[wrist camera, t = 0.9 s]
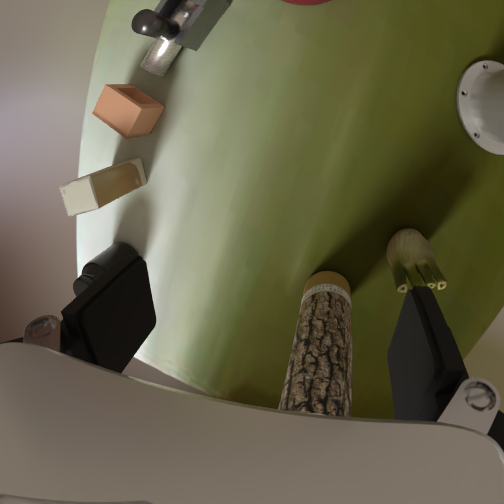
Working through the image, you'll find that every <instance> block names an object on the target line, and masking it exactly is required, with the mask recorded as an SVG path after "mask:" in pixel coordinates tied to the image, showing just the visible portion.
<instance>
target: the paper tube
mask: <svg viewBox="0 0 504 504" xmlns="http://www.w3.org/2000/svg"><path fill="white" fill-rule="evenodd" d="M351 403H352V314H351V293H350V286H349V283H348V281H347V280H346V279H345V278H344V277H343V276H342V275H340V274H338V273H336V272H332V271H322V272H318V273H316V274H314V275H313V276H311V277H310V278H309V279H308V281H307V282H306V285H305V288H304V293H303V298H302V303H301V308H300V313H299V318H298V323H297V328H296V333H295V338H294V343H293V347H292V352H291V357H290V361H289V366H288V370H287V375H286V379H285V383H284V388H283V392H282V396H281V401H280V405H279V409H278V410H284V411H292V412H300V413H308V414H318V415H328V416H340V417H351Z"/></svg>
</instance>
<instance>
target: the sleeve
mask: <svg viewBox="0 0 504 504" xmlns="http://www.w3.org/2000/svg"><path fill="white" fill-rule="evenodd" d="M181 1H182V0H161V1H160V3H159V4H158V6H157V7H156V9H155V10H154V12H157V13H159V14H161V15H164V16H166V17H169V18H170V17H171V15H172V14H173V12H174V11H175V9H176V8H177V7H178V5H179V4H180V2H181ZM188 1H190V2H192V3H195V4H197V5H199V6H198V8H197V9H196V10H195V12H194V13H193V14H192V16H191V17H190V19H189V20H188V21H187V23H186V24H185V26H184V27H183V29H182V30H181V32H180V33H179V35H178V36H177V38H176V39H175V41H174V43H176V44H177V45H180V46H183V47H186V48H189V49H192V50H195V51H197V50H198V48H199V47H200V45H201V44H202V42H203V41H204V39H205V38H206V37H207V35H208V34H209V32H210V31H211V30H212V28H213V27H214V26H215V24H216V23H217V22H218V20H219V19H220V18H221V16H222V15H223V14H224V12H225V11H226V10H227V8H228V7H229V6H230V5H231V4H230V3H229V2H227V1H226V0H188Z"/></svg>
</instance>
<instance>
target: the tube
mask: <svg viewBox="0 0 504 504" xmlns="http://www.w3.org/2000/svg"><path fill="white" fill-rule="evenodd" d="M198 6H199V5H197V4H195V3H192V2H190V1H188V0H182V1H181V2H180V4H179V5H178V7H177V8H176V9H175V11H174V12H173V14H172V15H171V17H170V18H169V17H166V16H164V15H161V14H159V13H157V12H154V11H152V10H149V9H144V10H141V11H139V12H138V13H137V14H136V15H135V16H134V18H133V20H132V29H133V31H134V32H136V33H138V34H142V35H146V36H150V37H153V38H156V40H155V41H154V43H153V44H152V46H151V48H150V49H149V51H148V53H147V54H146V56H145V58H144V59H143V61H142V63H141V65H140V66H141V67H142V68H143V69H145V70H146V71H148V72H150V73H153V74H155V75H158V76H164V74H165V73H166V71H167V69H168V68H169V66H170V65H171V63H172V61H173V60H174V58H175V57H176V55H177V53H178V52H179V50H180V49H181V47H182V46H180V45H177V44H176V43H174V41H175V39H176V38H177V36H178V35H179V33H180V32H181V30H182V29H183V27H184V26H185V24H186V23H187V21H188V20H189V19H190V17H191V16H192V14H193V13H194V12H195V10H196V9H197V8H198Z"/></svg>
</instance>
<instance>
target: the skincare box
mask: <svg viewBox="0 0 504 504" xmlns="http://www.w3.org/2000/svg"><path fill="white" fill-rule="evenodd" d="M145 184H147V181H146V177H145V173H144V169H143V165H142V161H141V158H140V157H139V158H135V159H131V160H128V161H124V162H121V163H118V164H115V165H113V166H110V167H107V168H105V169H102V170H99V171H97V172H94V173H91V174H89V175H86V176H83V177H81V178H78V179H76V180H74V181H71V182H69V183H66V184H64V185H62V186H60V187H59V188H60V192H61V195H62V199H63V202H64V205H65V208H66V211H67V214H68V216H73V215H78V214H82V213H86V212H89V211H93V210H96V209H99V208H101V207H102V206H104V205H106V204H108V203H110V202H112V201H114V200H116V199H117V198H119V197H121V196H123V195H125V194H127V193H129V192H131V191H133V190H135V189H137V188H139V187H141V186H143V185H145Z"/></svg>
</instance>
